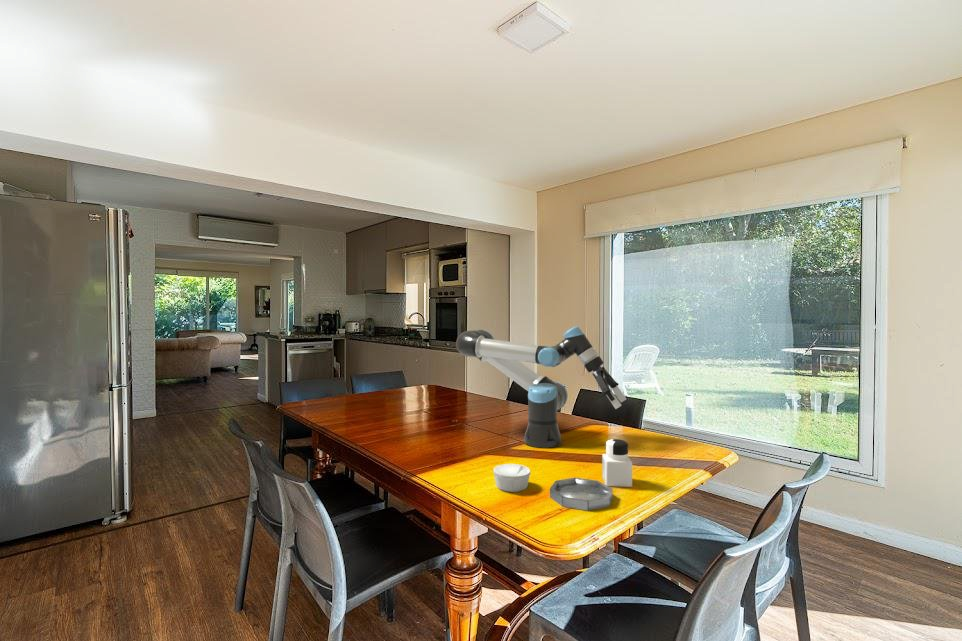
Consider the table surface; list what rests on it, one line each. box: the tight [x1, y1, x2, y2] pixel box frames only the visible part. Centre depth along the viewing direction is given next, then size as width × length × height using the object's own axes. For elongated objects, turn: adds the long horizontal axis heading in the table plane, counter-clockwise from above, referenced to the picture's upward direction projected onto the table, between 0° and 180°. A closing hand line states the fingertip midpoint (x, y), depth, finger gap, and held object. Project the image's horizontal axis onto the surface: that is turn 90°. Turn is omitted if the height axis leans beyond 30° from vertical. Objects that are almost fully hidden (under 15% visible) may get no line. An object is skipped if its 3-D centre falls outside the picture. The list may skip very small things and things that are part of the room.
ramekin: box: [493, 463, 531, 493], centre depth 138 cm, size 11×11×5 cm
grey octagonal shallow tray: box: [549, 477, 614, 511], centre depth 130 cm, size 17×17×2 cm
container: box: [601, 438, 633, 488], centre depth 141 cm, size 8×8×13 cm
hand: (621, 404), depth 184 cm, fingers open, 13 cm apart
